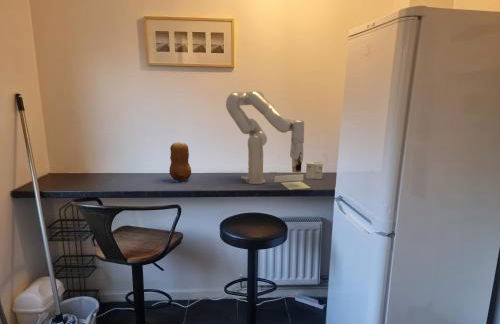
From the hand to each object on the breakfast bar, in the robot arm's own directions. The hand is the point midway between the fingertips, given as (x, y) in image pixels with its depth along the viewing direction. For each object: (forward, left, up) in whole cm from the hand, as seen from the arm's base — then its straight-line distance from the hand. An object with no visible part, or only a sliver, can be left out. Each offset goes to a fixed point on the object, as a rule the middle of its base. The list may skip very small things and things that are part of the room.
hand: (296, 169), depth 192 cm
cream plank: (0, +11, -11) cm, 15 cm away
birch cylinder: (0, 0, -1) cm, 1 cm away
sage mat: (0, 0, -11) cm, 11 cm away
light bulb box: (+20, +15, -11) cm, 27 cm away
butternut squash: (-69, +28, -11) cm, 76 cm away
